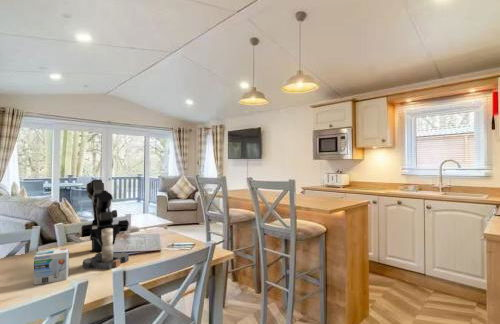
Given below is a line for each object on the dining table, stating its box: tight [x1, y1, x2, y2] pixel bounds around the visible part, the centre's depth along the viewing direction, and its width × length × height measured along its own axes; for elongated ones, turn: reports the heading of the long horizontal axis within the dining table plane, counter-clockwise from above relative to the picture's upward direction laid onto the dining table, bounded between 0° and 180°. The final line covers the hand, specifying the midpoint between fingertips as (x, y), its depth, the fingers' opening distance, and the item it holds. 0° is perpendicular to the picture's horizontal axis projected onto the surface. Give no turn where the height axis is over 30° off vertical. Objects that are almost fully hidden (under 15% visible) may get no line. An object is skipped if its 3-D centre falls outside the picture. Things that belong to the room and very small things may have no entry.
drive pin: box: [101, 228, 114, 263], centre depth 124 cm, size 4×4×14 cm
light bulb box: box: [33, 247, 70, 286], centre depth 110 cm, size 11×7×11 cm, turn 117°
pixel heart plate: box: [82, 251, 130, 271], centre depth 127 cm, size 15×15×2 cm
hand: (107, 244), depth 123 cm, fingers closed on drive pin, 4 cm apart
